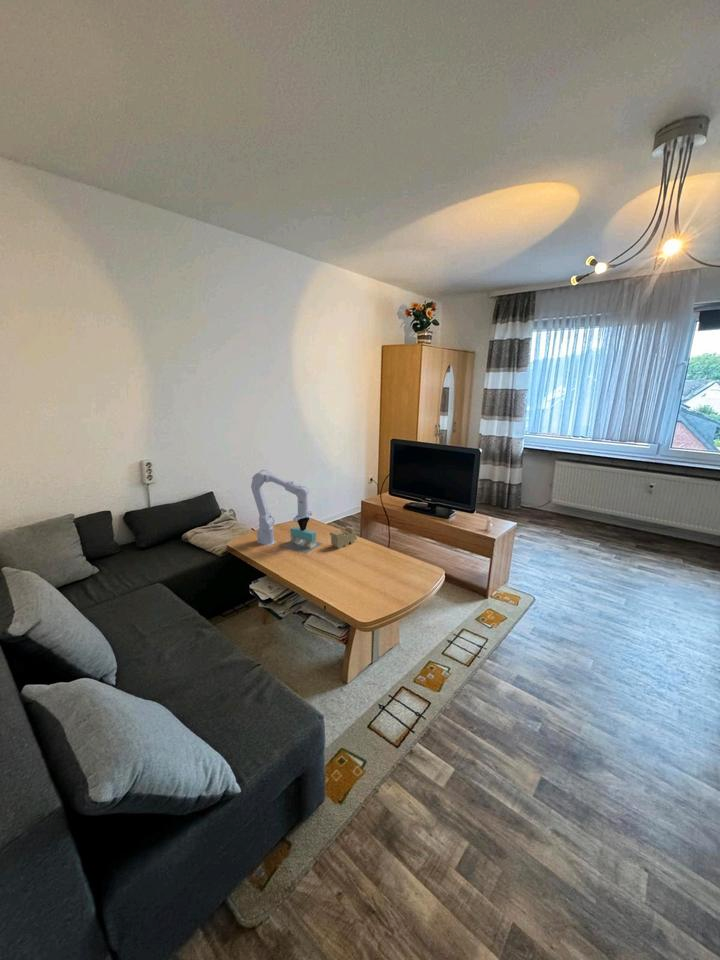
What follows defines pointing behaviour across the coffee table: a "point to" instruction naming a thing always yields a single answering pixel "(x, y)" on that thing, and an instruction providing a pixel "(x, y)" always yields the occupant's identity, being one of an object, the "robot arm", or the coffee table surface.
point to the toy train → (343, 537)
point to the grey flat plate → (300, 547)
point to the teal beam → (303, 534)
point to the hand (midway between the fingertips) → (303, 529)
